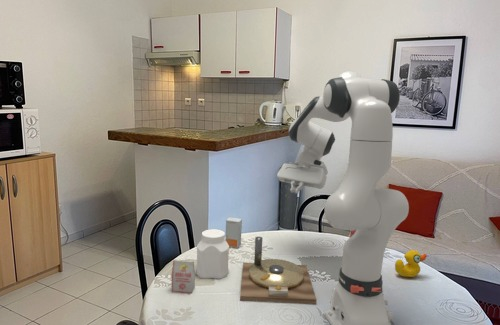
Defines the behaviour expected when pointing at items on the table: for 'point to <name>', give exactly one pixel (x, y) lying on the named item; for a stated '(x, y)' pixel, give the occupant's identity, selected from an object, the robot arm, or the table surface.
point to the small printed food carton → (183, 276)
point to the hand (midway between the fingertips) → (293, 192)
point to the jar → (212, 255)
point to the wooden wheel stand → (277, 290)
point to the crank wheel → (274, 270)
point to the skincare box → (233, 232)
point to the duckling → (410, 264)
